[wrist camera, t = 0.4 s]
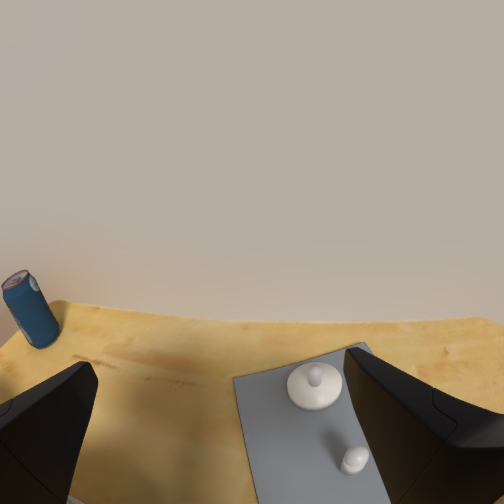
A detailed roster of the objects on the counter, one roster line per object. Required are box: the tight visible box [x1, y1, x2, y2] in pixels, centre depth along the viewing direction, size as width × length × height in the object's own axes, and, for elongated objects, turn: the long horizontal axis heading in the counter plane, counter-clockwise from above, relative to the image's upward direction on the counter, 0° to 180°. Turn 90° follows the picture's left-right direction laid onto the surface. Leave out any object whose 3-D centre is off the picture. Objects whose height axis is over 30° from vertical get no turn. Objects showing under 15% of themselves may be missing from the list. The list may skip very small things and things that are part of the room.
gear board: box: [233, 342, 391, 504], centre depth 19 cm, size 18×15×5 cm
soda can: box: [2, 270, 59, 349], centre depth 34 cm, size 7×7×12 cm
